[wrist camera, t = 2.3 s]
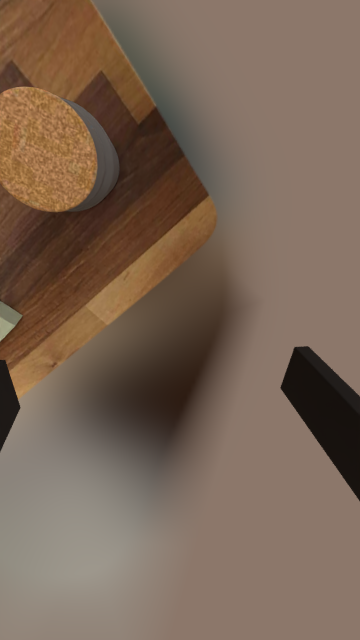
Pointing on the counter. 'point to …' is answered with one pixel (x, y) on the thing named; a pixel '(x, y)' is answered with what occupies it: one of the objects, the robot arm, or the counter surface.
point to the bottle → (53, 152)
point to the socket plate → (7, 319)
